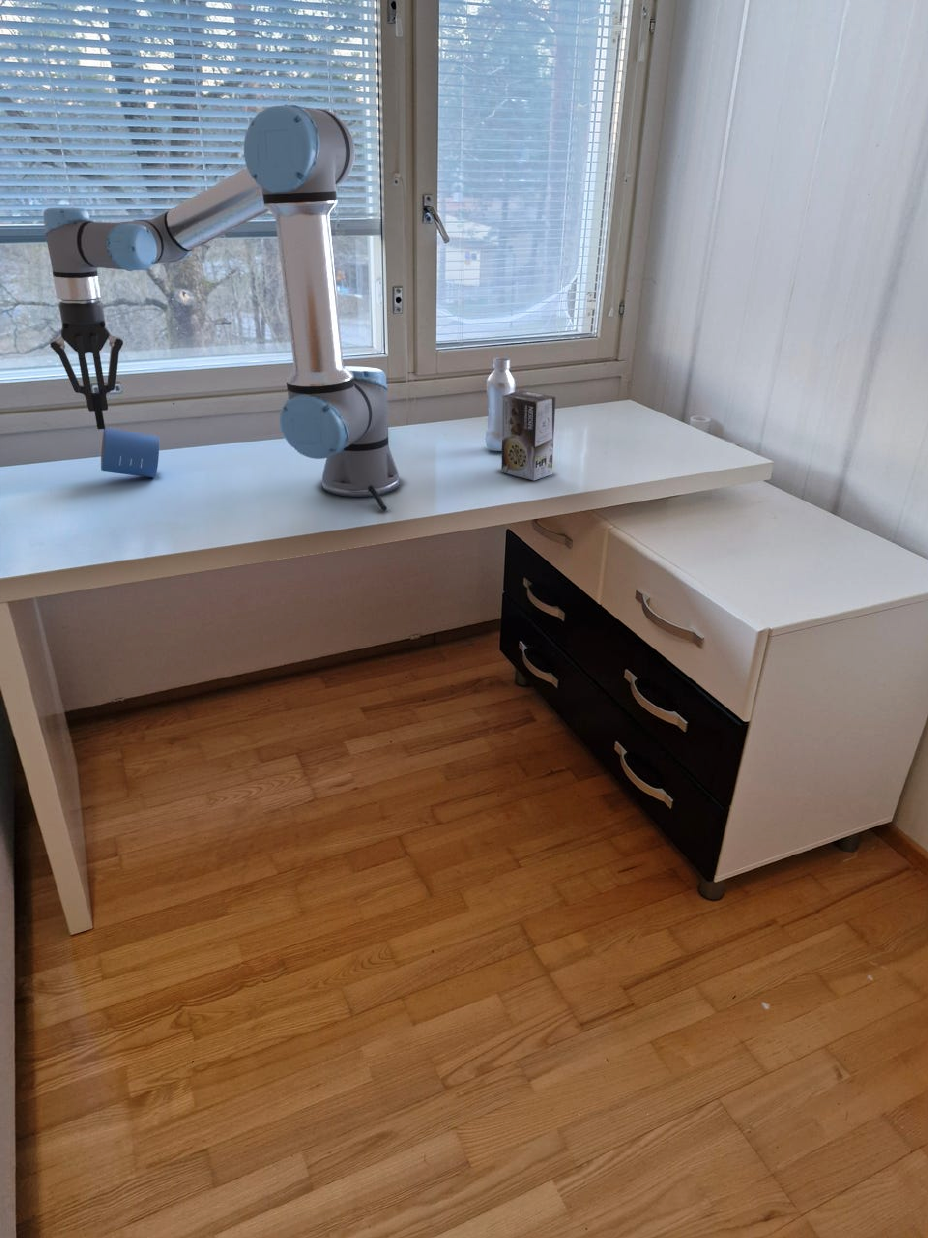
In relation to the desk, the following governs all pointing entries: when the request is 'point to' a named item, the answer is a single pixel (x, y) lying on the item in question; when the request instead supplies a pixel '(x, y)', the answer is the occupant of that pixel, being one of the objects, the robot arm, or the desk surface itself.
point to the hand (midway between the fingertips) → (101, 427)
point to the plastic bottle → (497, 400)
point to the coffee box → (527, 434)
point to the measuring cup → (129, 453)
